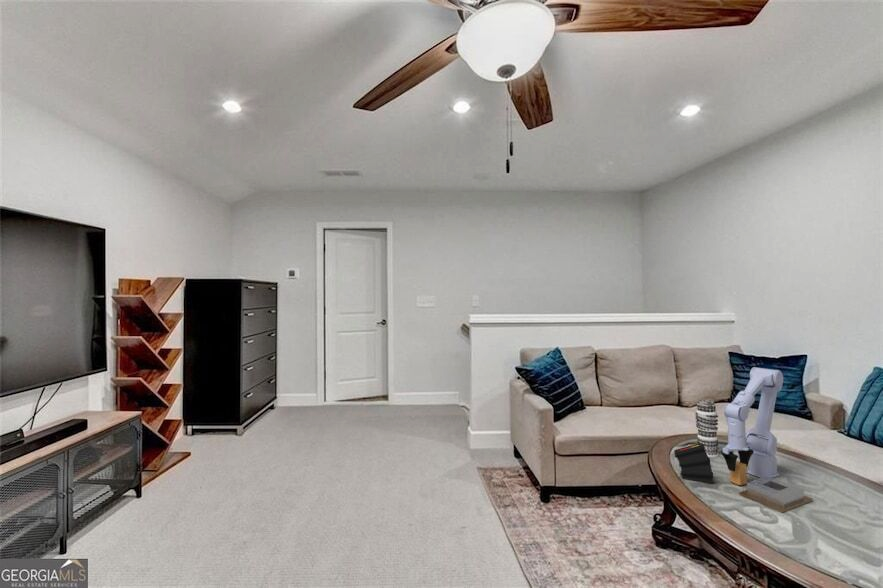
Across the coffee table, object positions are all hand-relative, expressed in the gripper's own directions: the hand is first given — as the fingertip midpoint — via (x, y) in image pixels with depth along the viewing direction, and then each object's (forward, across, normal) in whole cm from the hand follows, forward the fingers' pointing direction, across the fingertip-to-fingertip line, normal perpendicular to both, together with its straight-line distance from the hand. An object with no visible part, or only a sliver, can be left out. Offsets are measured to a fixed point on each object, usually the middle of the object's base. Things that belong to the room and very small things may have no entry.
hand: (737, 468), depth 164 cm
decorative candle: (+6, +18, +25) cm, 31 cm away
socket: (+6, 0, -13) cm, 14 cm away
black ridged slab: (+6, -12, +10) cm, 17 cm away
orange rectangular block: (+6, 0, 0) cm, 6 cm away
